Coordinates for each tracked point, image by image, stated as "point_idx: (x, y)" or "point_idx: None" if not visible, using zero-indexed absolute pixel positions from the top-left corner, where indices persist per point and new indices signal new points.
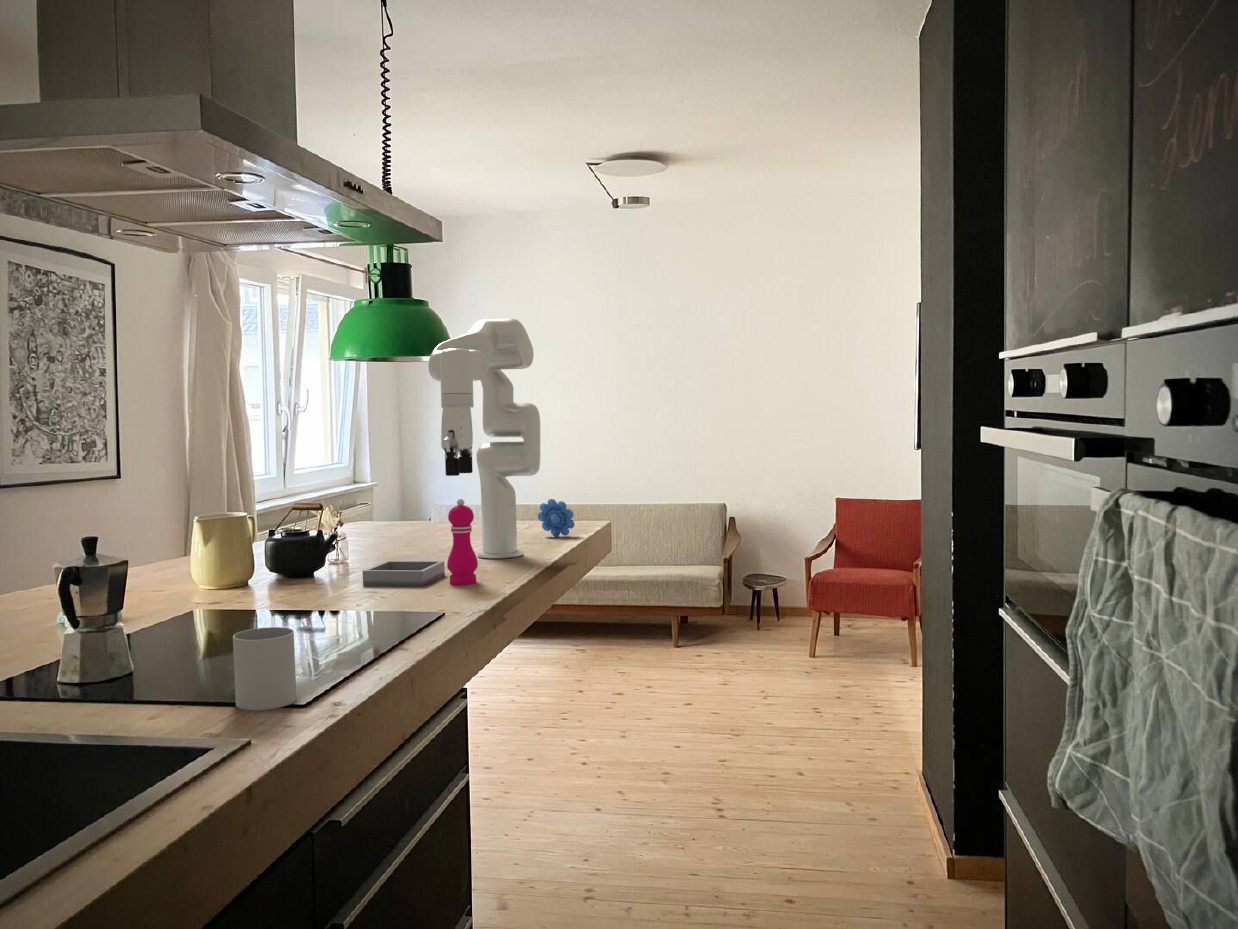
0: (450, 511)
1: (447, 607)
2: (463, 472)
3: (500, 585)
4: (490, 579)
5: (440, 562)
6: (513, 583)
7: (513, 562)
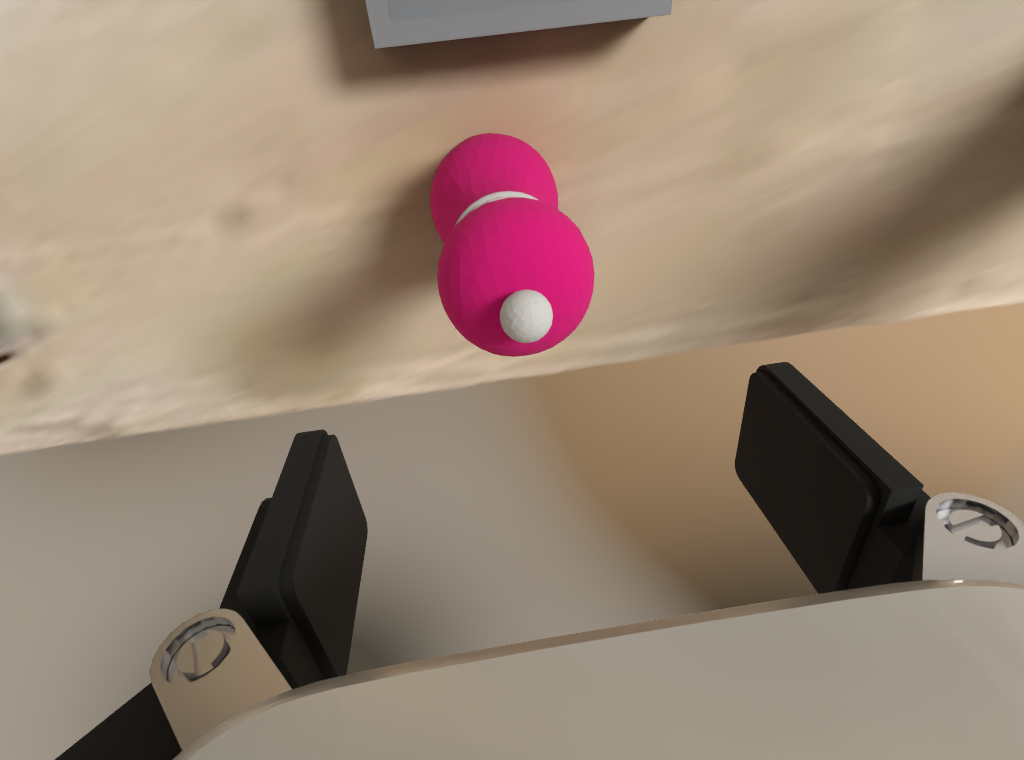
0: (464, 247)
1: (81, 329)
2: (747, 407)
3: None
4: None
5: (632, 11)
6: None
7: (933, 190)
